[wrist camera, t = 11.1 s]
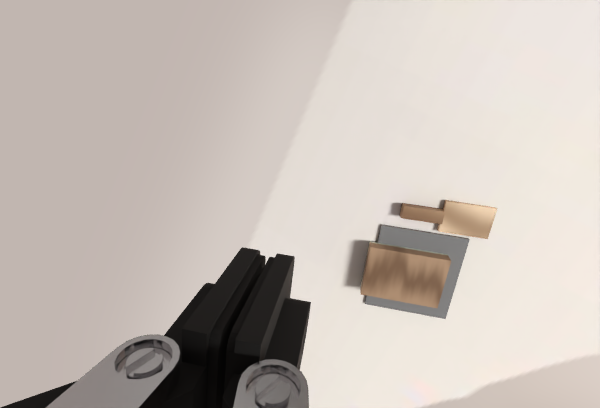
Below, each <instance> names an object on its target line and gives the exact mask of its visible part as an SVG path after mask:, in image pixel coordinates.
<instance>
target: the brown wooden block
mask: <svg viewBox="0 0 600 408" xmlns="http://www.w3.org/2000/svg"><path fill="white" fill-rule="evenodd" d="M450 264H451V259H450V258H449V256H448V254H442V253H436V252H430V251H424V250H418V249H412V248H406V247H400V246H394V245H388V244H382V243H376V242H370V243H369V248H368V253H367V258H366V263H365V268H364V273H363V277H362V282H361V294H362V295H367V296H373V297H378V298H384V299H389V300H394V301H400V302H405V303H411V304H416V305H421V306H427V307H432V308H438V305H439V302H440V298H441V295H442V291H443V288H444V284H445V281H446V278H447V274H448V271H449V267H450Z"/></svg>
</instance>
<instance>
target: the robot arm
mask: <svg viewBox="0 0 600 408" xmlns="http://www.w3.org/2000/svg"><path fill="white" fill-rule="evenodd" d="M293 268H294V256H288V255H283V254H277V255H276V257H275V258H273V257H269V259H268V261H267V263H266V265H265V256H262V255H260V251H259V250H254V249H248V248H241V249H240V251H239V252H238V253H237V255H236V256H235V257H234V259H233V260H232V262H231V263H230V264H229V266H228V267H227V268H226V270H225V271H224V272H223V274H222V275H221V277H220V278H219V279H218V281H217V282H216V283H215V284H211V283H206V284H205V285H204V286H203V287H202V288H201V289H200V291H199V292H198V293H197V295H196V296H195V297H194V299H193V300H192V301H191V302H190V303H189V305H188V306H187V307H186V309H185V310H184V311H183V312H182V313H181V315H180V316H179V317H178V319H177V320H176V321H175V322H174V324H173V325H172V326H171V327H170V329H169V330H168V331H167V332H166V334H165V335H164V336H162V335H144V336H140V337H136V338H133V339H131V340H128V341H126V342H125V343H124V344H122V345H120V346H119V347H117V348H116V349H115V350H114V351H112V352H111V353H110V354H109V355H108V356H106V357H105V358H104V359H103V360H102V361H101V362H99V363H98V364H97V365H96V366H95V367H93V368H92V369H91V370H90V371H89V372H87V373H86V374H85V375H84V376H83V377H81V378H80V379H79V380H78V381H76V382H73V383H70V384H67V385H64V386H61V387H58V388H55V389H52V390H50V391H47V392H44V393H41V394H38V395H35V396H32V397H29V398H27V399H24V400H21V401H18V402H15V403H12V404H9V405H7V406H4V407H1V408H309V398H308V385H307V381H306V379H305V377H304V375H303V374H302V372H301V371H300V365H301V359H302V354H303V349H304V343H305V338H306V332H307V325H308V319H309V312H310V304H311V302H307V301H301V300H296V299H291V298H290V293H291V285H292V276H293Z"/></svg>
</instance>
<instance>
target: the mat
mask: <svg viewBox="0 0 600 408" xmlns="http://www.w3.org/2000/svg"><path fill="white" fill-rule="evenodd" d="M378 243H382V244H388V245H394V246H400V247H406V248H412V249H418V250H424V251H430V252H436V253H442V254H448V256H449V258H450V259H451V264H450V267H449V271H448V274H447V278H446V281H445V284H444V288H443V291H442V295H441V298H440V302H439V305H438V308H432V307H427V306H421V305H416V304H411V303H405V302H400V301H394V300H389V299H384V298H378V297H373V296H366V301H365V304H368V305H374V306H379V307H384V308H390V309H395V310H401V311H406V312H411V313H417V314H422V315H427V316H433V317H438V318H443V319H446V315H447V312H448V309H449V305H450V302H451V299H452V295H453V292H454V289H455V286H456V282H457V279H458V276H459V272H460V269H461V266H462V262H463V259H464V256H465V253H466V249H467V246H468V243H469V239H468V238H462V237H456V236H450V235H443V234H437V233H431V232H425V231H419V230H412V229H406V228H400V227H394V226H387V225H381V229H380V233H379V238H378Z"/></svg>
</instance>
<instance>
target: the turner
mask: <svg viewBox="0 0 600 408" xmlns="http://www.w3.org/2000/svg"><path fill="white" fill-rule="evenodd" d="M496 211H497V208H495V207H488V206H481V205H475V204H468V203H461V202H455V201H448V200H445V202H444V206H443V209H439V208H432V207H425V206H419V205H412V204H405V203H402V207H401V211H400V217H401V218H404V219H411V220H417V221H424V222H430V223H437V224H439V225H438V229H437V230H438V231H439V232H446V233H452V234H459V235H465V236H472V237H478V238H485V239H488V236H489V233H490V230H491V227H492V224H493V221H494V217H495V214H496Z"/></svg>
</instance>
